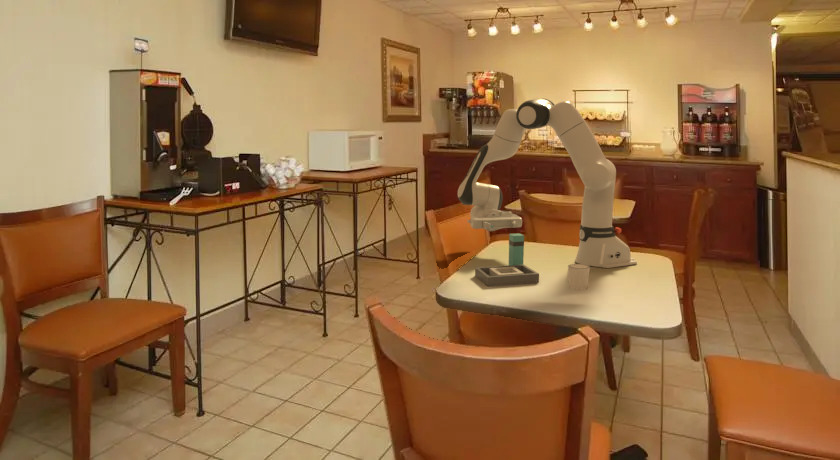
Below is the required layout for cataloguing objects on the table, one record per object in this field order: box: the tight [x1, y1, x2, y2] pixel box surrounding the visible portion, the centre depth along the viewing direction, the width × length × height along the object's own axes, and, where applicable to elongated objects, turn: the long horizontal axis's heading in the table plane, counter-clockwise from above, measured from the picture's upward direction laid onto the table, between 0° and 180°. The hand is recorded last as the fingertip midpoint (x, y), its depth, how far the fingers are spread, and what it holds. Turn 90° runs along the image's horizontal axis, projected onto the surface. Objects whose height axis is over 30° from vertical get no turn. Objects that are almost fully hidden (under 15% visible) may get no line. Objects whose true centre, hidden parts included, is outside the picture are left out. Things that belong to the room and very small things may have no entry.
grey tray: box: [474, 263, 540, 287], centre depth 191 cm, size 18×13×3 cm
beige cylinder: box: [567, 263, 591, 290], centre depth 181 cm, size 7×7×7 cm
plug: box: [508, 232, 525, 265], centre depth 203 cm, size 4×4×13 cm
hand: (503, 225), depth 213 cm, fingers open, 8 cm apart
